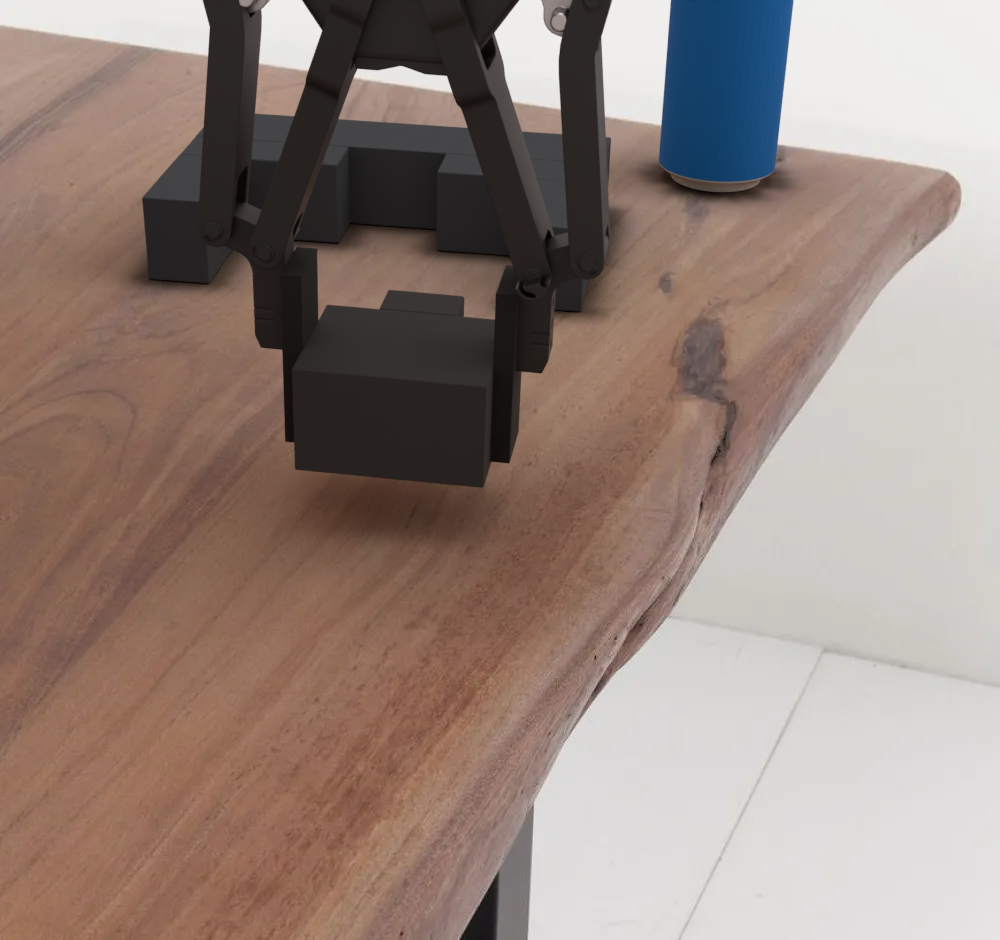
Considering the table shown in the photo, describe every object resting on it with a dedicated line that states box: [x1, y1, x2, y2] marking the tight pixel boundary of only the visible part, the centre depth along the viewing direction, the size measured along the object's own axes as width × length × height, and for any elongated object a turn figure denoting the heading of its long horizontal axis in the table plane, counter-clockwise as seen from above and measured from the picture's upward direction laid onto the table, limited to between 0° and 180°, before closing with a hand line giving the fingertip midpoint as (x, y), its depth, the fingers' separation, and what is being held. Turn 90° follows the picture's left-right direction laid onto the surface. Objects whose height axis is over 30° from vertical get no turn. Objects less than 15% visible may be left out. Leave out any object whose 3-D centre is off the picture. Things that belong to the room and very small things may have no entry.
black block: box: [292, 289, 495, 489], centre depth 71 cm, size 7×8×4 cm
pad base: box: [141, 113, 612, 312], centre depth 94 cm, size 21×14×4 cm, turn 82°
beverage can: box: [658, 0, 795, 193], centre depth 102 cm, size 6×6×12 cm
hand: (402, 435), depth 71 cm, fingers closed on black block, 7 cm apart
